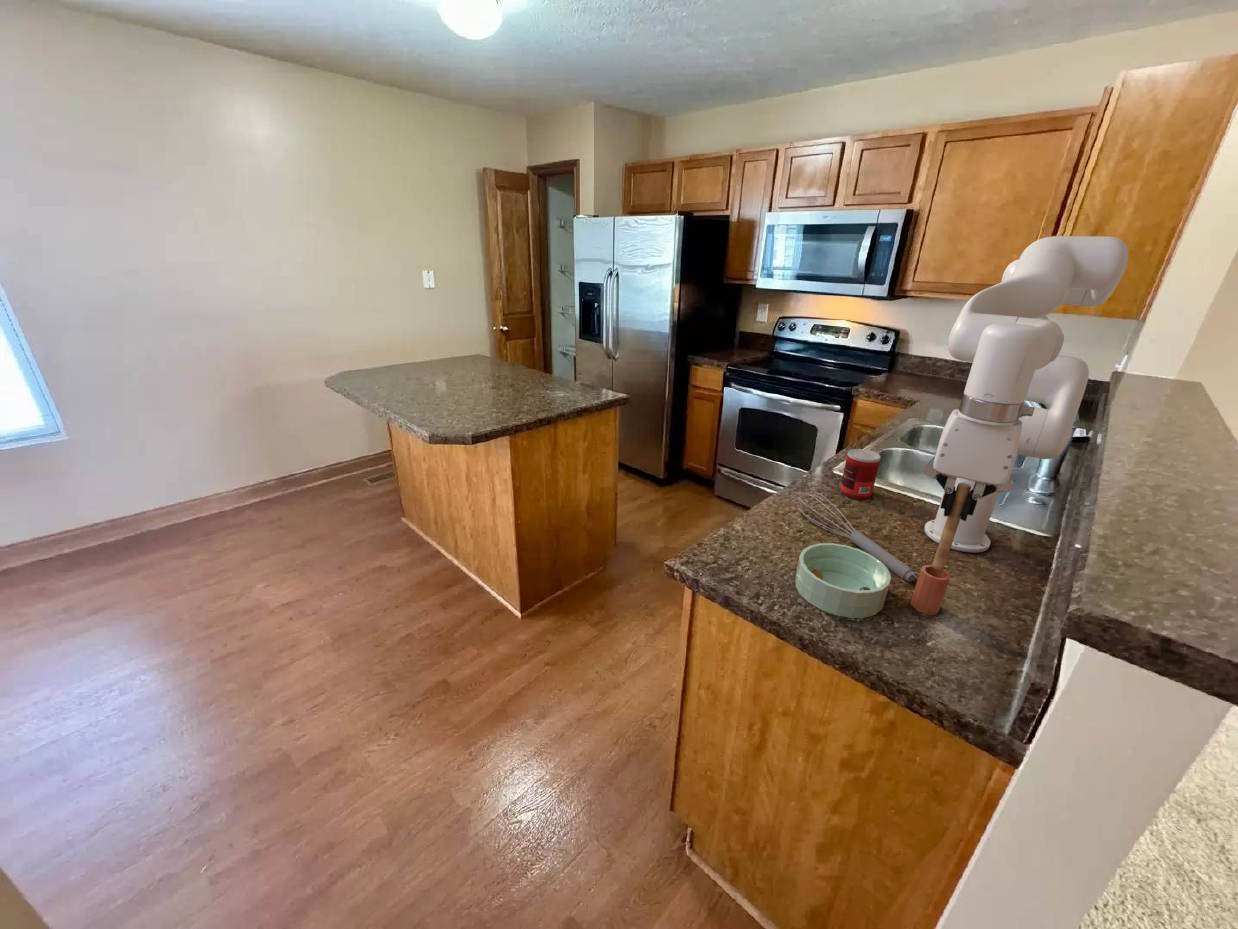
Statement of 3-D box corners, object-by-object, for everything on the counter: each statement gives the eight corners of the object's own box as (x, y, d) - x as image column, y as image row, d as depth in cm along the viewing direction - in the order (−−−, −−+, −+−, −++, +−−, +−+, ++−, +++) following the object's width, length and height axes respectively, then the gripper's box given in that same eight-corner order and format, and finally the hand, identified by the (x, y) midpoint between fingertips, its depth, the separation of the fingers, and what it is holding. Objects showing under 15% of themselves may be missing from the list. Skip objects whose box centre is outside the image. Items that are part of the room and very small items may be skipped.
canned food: (875, 492, 135) (885, 454, 130) (864, 502, 130) (874, 462, 125) (846, 483, 140) (855, 446, 135) (834, 492, 134) (843, 454, 130)
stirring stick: (932, 563, 90) (958, 481, 83) (944, 566, 89) (971, 484, 83) (931, 568, 89) (957, 485, 82) (943, 571, 88) (971, 488, 81)
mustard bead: (810, 575, 100) (812, 565, 99) (823, 579, 98) (825, 569, 97) (807, 581, 98) (809, 571, 97) (820, 586, 97) (822, 575, 96)
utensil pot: (911, 598, 95) (922, 561, 92) (938, 607, 93) (951, 570, 89) (908, 611, 91) (920, 574, 88) (937, 620, 89) (950, 583, 86)
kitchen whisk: (909, 594, 96) (917, 565, 93) (789, 512, 124) (793, 489, 122) (932, 586, 98) (941, 559, 96) (809, 508, 127) (813, 485, 124)
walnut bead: (858, 593, 95) (861, 582, 94) (872, 597, 94) (875, 587, 93) (855, 600, 93) (858, 589, 92) (870, 604, 92) (873, 594, 91)
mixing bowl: (806, 559, 106) (811, 534, 103) (888, 586, 98) (895, 559, 96) (784, 599, 94) (789, 572, 91) (875, 633, 86) (884, 604, 84)
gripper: (1052, 411, 76) (1011, 519, 84) (931, 394, 84) (904, 493, 91) (1058, 426, 70) (1013, 540, 78) (927, 405, 78) (898, 511, 86)
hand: (954, 514), depth 85 cm, fingers closed on stirring stick, 1 cm apart
